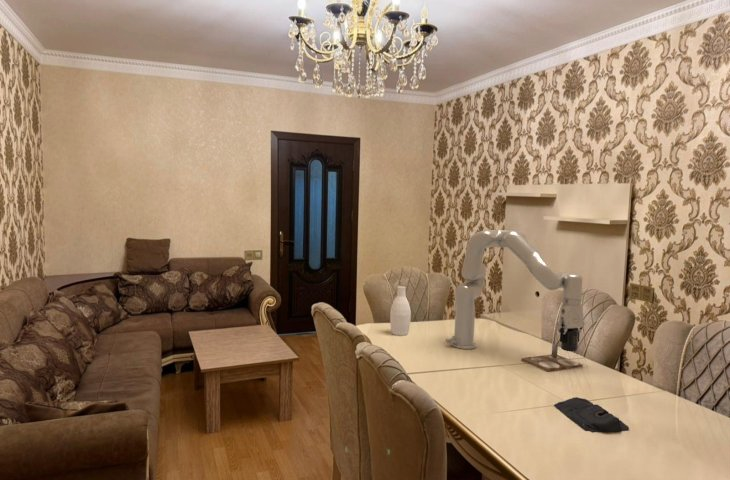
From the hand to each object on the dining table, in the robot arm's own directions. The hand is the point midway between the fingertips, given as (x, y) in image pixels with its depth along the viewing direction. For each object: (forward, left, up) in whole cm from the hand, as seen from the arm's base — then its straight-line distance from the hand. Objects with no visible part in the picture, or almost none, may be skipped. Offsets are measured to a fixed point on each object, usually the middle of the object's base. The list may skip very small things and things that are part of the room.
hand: (569, 341), depth 214 cm
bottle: (-48, +70, -11) cm, 85 cm away
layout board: (-6, +4, -11) cm, 13 cm away
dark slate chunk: (-37, -44, -12) cm, 58 cm away
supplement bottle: (0, 0, -4) cm, 4 cm away
